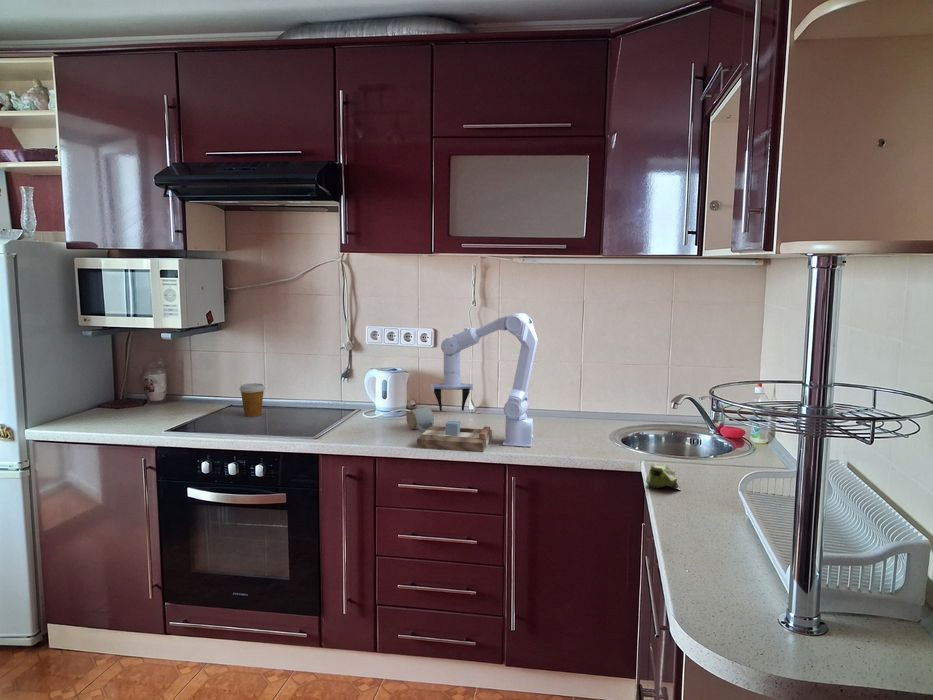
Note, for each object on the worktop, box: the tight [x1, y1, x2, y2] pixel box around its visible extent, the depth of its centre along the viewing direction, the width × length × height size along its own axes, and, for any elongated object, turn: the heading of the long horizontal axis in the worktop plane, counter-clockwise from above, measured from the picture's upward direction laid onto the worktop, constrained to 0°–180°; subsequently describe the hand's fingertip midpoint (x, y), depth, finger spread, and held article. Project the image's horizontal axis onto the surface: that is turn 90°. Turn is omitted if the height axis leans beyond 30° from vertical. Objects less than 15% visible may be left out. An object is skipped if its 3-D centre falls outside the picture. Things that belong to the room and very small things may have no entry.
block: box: [445, 420, 461, 436], centre depth 223 cm, size 4×4×4 cm
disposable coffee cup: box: [239, 382, 266, 418], centre depth 260 cm, size 10×10×12 cm
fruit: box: [645, 462, 680, 490], centre depth 180 cm, size 9×9×8 cm
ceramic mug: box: [406, 406, 435, 433], centre depth 241 cm, size 11×8×8 cm
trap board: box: [416, 425, 493, 453], centre depth 223 cm, size 22×18×5 cm
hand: (451, 410), depth 230 cm, fingers open, 7 cm apart
